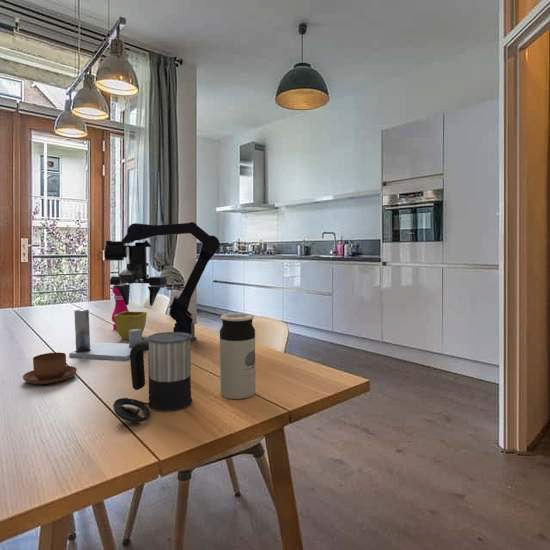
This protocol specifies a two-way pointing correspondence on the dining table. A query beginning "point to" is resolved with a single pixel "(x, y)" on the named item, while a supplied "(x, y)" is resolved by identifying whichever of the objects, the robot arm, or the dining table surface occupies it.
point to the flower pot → (129, 322)
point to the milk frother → (159, 375)
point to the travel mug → (237, 356)
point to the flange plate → (111, 348)
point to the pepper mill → (118, 304)
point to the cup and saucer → (49, 369)
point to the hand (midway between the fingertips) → (139, 305)
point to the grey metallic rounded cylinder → (82, 330)
